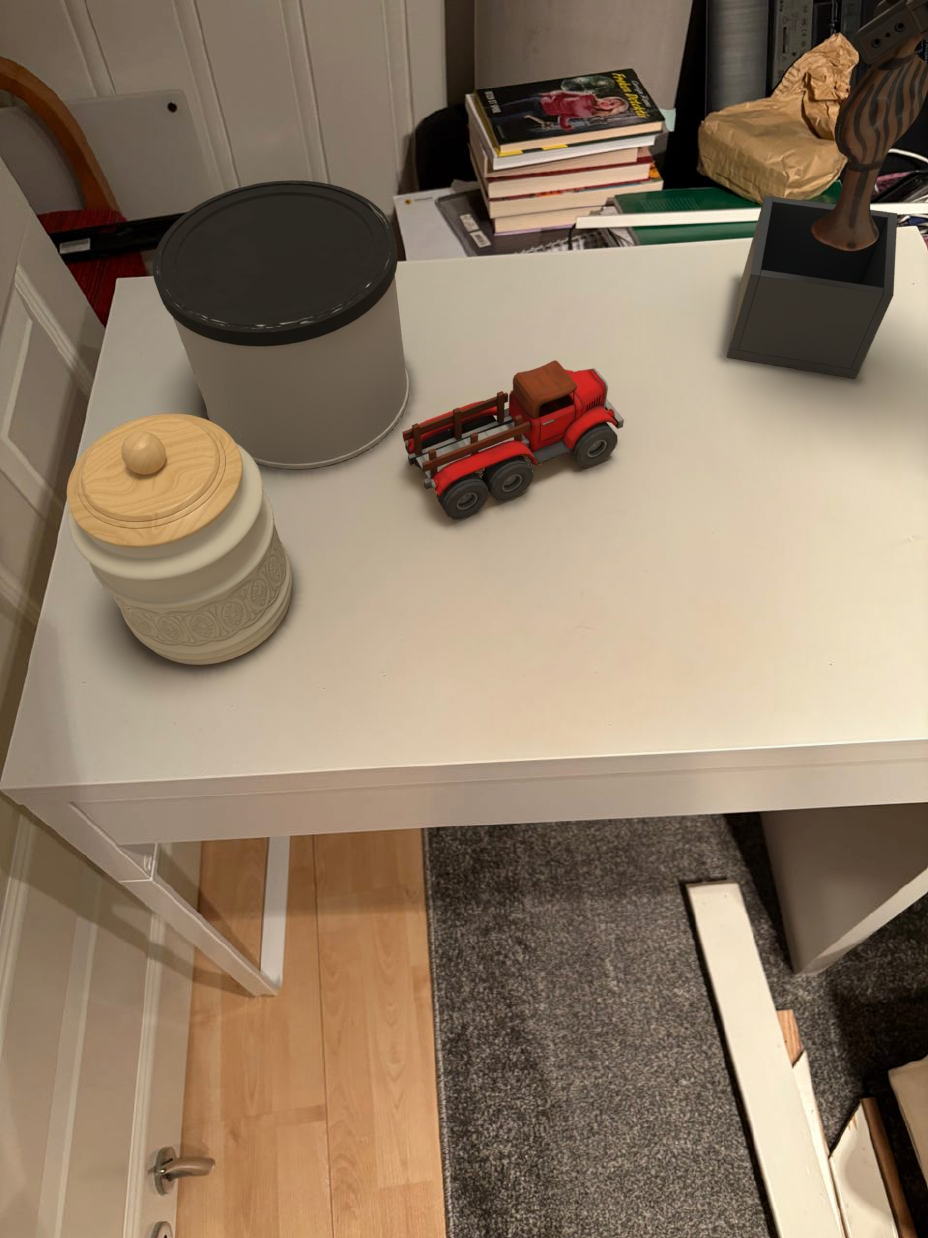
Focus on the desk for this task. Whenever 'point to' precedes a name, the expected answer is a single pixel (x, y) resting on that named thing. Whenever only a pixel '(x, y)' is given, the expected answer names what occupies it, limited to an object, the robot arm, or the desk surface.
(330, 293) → the container
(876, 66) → the figurine
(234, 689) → the desk surface
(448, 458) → the toy truck
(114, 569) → the jar
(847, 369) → the bin
